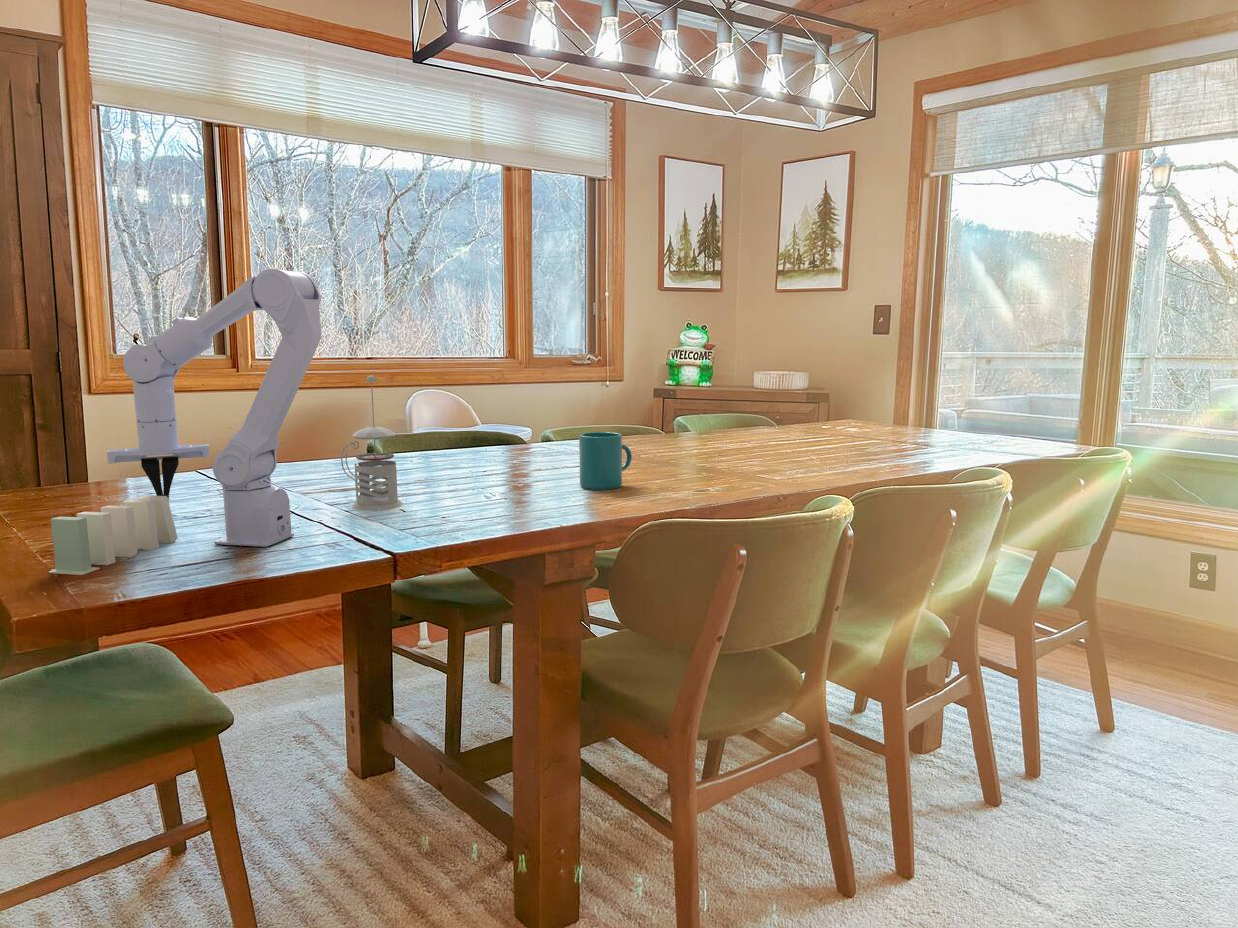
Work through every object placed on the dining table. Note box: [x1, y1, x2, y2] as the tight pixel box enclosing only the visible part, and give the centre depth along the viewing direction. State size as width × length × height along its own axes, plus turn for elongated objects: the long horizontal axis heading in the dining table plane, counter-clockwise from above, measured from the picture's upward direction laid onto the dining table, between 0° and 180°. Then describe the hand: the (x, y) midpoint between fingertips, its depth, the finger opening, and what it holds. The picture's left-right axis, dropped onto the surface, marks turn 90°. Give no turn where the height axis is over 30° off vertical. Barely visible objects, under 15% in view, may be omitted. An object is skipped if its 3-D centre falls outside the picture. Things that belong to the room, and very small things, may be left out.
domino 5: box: [135, 494, 178, 544], centre depth 143 cm, size 2×4×8 cm, turn 78°
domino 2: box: [76, 511, 116, 566], centre depth 131 cm, size 2×4×8 cm, turn 78°
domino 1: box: [50, 516, 92, 572], centre depth 126 cm, size 2×4×8 cm, turn 78°
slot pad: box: [48, 566, 101, 576], centre depth 127 cm, size 6×3×1 cm, turn 78°
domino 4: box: [122, 499, 159, 551], centre depth 139 cm, size 2×4×8 cm, turn 78°
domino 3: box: [99, 505, 139, 558], centre depth 135 cm, size 2×4×8 cm, turn 78°
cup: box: [578, 431, 633, 491], centre depth 190 cm, size 9×12×11 cm
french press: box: [340, 375, 404, 511], centre depth 170 cm, size 10×12×25 cm
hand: (163, 504), depth 144 cm, fingers closed
